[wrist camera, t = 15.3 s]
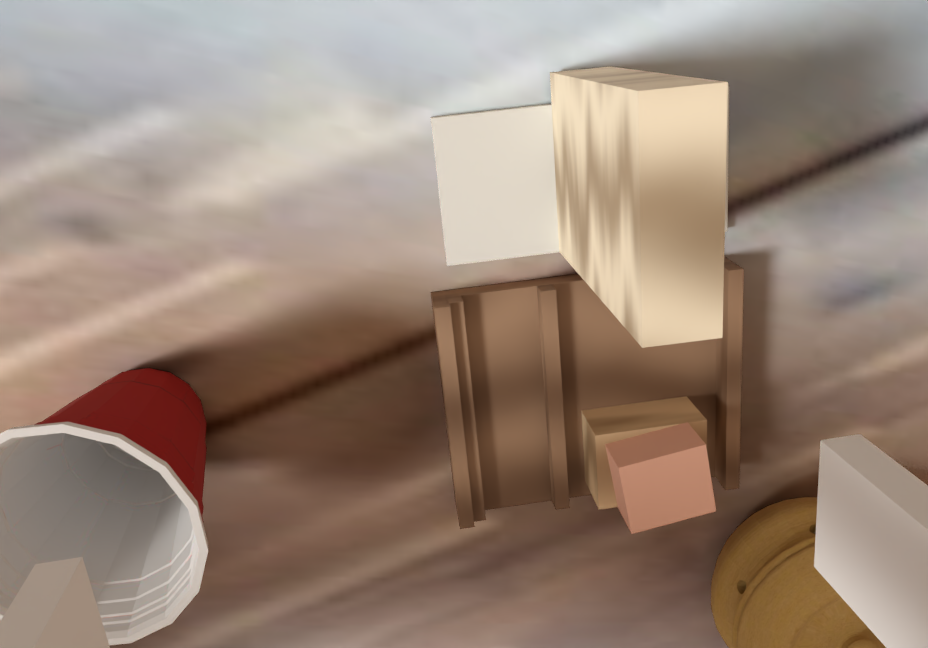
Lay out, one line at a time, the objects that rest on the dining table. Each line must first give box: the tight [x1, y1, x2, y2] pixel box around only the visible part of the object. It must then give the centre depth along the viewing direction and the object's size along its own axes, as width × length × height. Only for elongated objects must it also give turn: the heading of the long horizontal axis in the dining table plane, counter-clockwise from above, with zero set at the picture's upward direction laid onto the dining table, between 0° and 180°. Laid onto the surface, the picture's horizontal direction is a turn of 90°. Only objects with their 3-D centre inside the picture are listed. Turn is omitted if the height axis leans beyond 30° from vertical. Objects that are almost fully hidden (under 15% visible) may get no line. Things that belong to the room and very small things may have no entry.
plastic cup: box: [0, 368, 208, 645], centre depth 38 cm, size 11×11×12 cm
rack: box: [431, 257, 744, 529], centre depth 45 cm, size 13×16×3 cm
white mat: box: [430, 85, 729, 266], centre depth 42 cm, size 8×15×1 cm, turn 96°
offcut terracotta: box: [605, 422, 716, 534], centre depth 42 cm, size 4×4×2 cm
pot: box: [711, 497, 886, 648], centre depth 47 cm, size 12×12×10 cm
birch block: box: [550, 66, 728, 348], centre depth 35 cm, size 9×3×14 cm, turn 5°
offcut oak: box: [581, 396, 707, 510], centre depth 45 cm, size 4×6×3 cm
